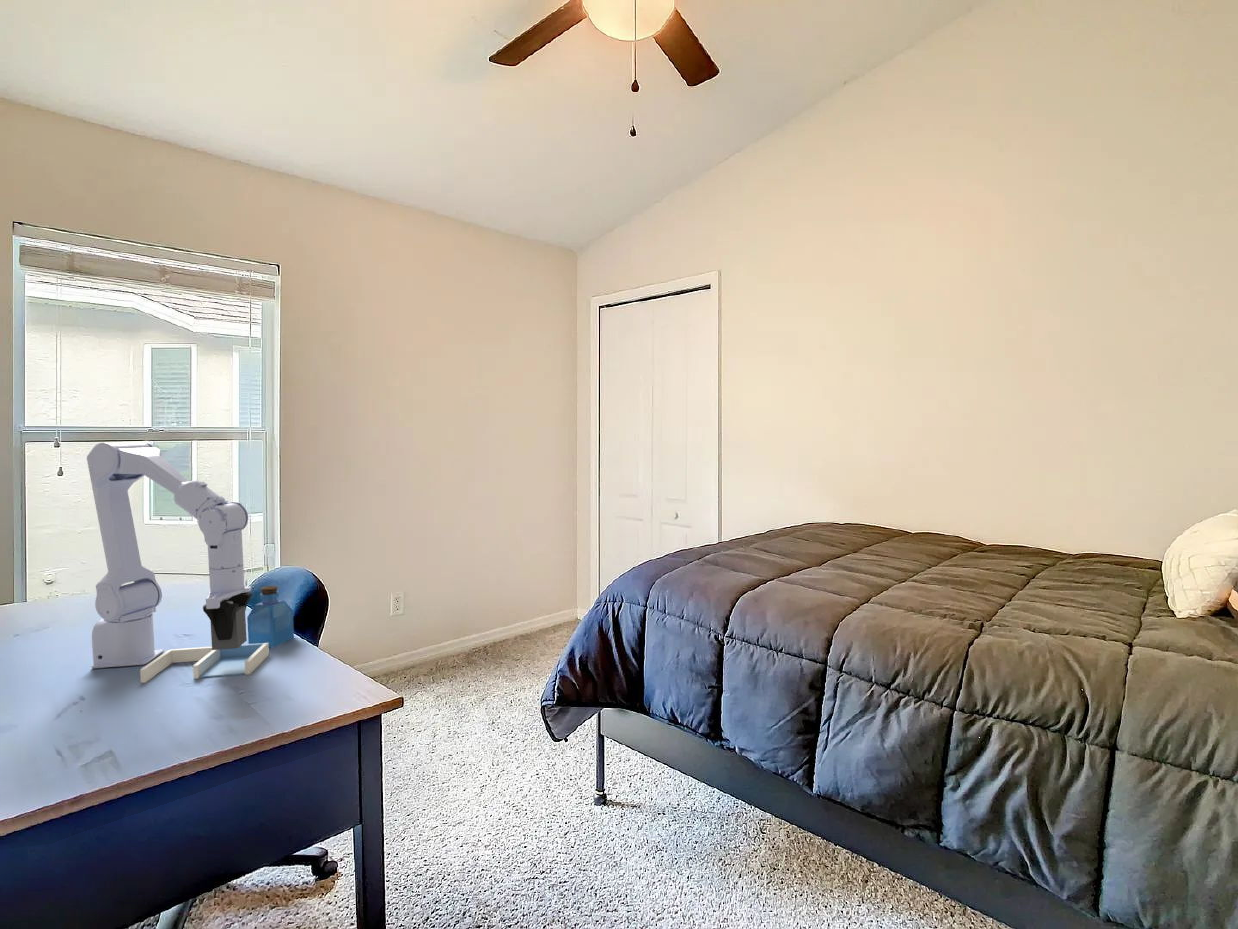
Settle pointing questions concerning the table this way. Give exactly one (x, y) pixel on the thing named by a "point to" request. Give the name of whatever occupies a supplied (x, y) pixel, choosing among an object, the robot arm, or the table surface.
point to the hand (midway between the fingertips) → (229, 635)
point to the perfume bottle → (270, 619)
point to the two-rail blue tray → (211, 661)
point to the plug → (237, 633)
